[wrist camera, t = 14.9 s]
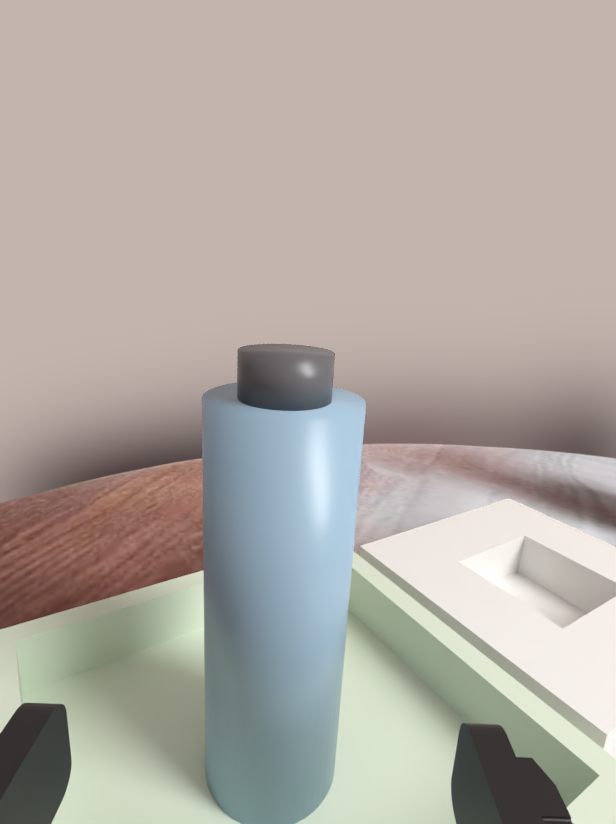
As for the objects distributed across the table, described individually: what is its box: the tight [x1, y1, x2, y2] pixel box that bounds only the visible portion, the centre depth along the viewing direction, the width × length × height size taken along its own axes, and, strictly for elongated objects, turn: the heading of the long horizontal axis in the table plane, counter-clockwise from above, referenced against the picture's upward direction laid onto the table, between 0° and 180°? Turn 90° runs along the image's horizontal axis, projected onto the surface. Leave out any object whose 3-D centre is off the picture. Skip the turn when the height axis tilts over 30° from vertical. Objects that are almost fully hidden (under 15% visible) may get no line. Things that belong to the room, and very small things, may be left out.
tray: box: [0, 551, 616, 824], centre depth 21 cm, size 20×20×4 cm
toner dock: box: [359, 498, 616, 759], centre depth 31 cm, size 16×16×4 cm
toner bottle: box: [202, 344, 366, 824], centre depth 18 cm, size 6×6×18 cm
